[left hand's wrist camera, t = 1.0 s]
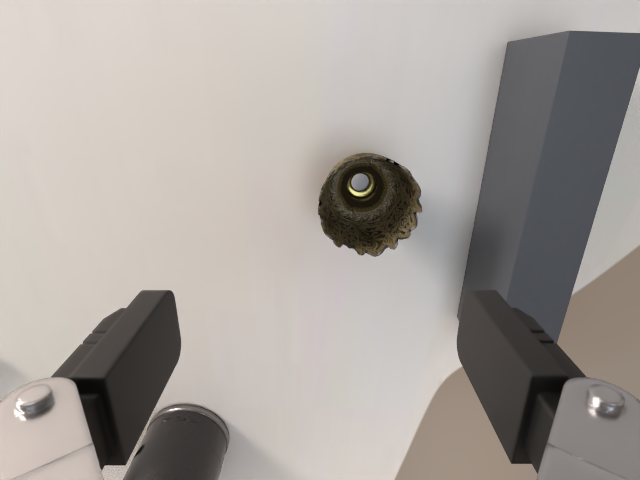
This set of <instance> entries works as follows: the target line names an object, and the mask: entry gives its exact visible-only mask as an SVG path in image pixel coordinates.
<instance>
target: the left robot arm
mask: <svg viewBox="0 0 640 480" xmlns="http://www.w3.org/2000/svg"><path fill="white" fill-rule="evenodd" d="M92 332H93V333H92V334H90V335H89V336H88V337H87V338H86V339H85V340H84V341H83V344H81V345H80V346H79V347H78V348H77V349H76V350H75V351H74V352H73V353H72V354H71V356H70V357H69V358H68V359H67V360H66V361H65V362H64V363H63V364H62V366H61V367H60V368H59V369H58V370H57V371H56V372H55V373H54V374H53V375H52V377H51V378H45V379H40V380H37V381H34V382H31V383H28V384H26V385H24V386H22V387H19V388H18V389H16V390H14V391H12V392H11V393H9V394H8V395H7V396H5V397H4V398H3V399H2V400H1V401H0V480H104V479H103V475H102V472H101V471H102V469H103V467H104V466H105V465H126V463H127V461H128V459H129V457H130V455H131V453H132V451H133V449H134V447H135V445H136V443H137V441H138V439H139V437H140V436H141V434H142V432H143V430H144V428H145V426H146V424H147V422H148V420H149V418H150V416H151V414H152V412H153V410H154V408H155V406H156V404H157V402H158V400H159V398H160V396H161V394H162V392H163V390H164V388H165V386H166V384H167V382H168V380H169V378H170V376H171V374H172V372H173V370H174V368H175V366H176V364H177V362H178V360H179V356H180V351H181V336H180V330H179V323H178V316H177V310H176V303H175V297H174V294H173V292H172V291H170V290H143V291H141V292H140V293H139V294H138V295H137V296H136V298H135V299H134V300H133V301H132V302H131V303H130V305H129V306H128V307H127V308H121V309H119V310H118V311H116V312H114V313H113V314H111V315H109V316H108V317H106V318H104V319H103V320H102V321H101V323H100V324H99V325H98V326H97V327H96V328H95V329H94V330H93V331H92ZM457 351H458V356H459V359H460V362H461V364H462V366H463V368H464V370H465V372H466V374H467V376H468V378H469V380H470V382H471V384H472V386H473V388H474V390H475V392H476V394H477V396H478V398H479V400H480V402H481V404H482V406H483V408H484V410H485V412H486V414H487V416H488V418H489V420H490V422H491V424H492V426H493V428H494V430H495V432H496V434H497V436H498V438H499V440H500V442H501V444H502V446H503V448H504V450H505V452H506V454H507V456H508V458H509V460H510V462H511V463H512V464H532V465H533V467H534V468H535V470H536V472H537V474H538V475H537V479H536V480H640V401H639V400H638V399H637V398H636V397H635V396H633V395H632V394H630V393H629V392H628V391H626V390H624V389H622V388H620V387H618V386H616V385H614V384H612V383H609V382H606V381H603V380H600V379H595V378H588V377H586V376H585V375H584V374H583V373H582V371H581V370H580V369H579V368H578V367H577V366H576V365H575V364H574V363H573V361H572V360H571V359H570V358H569V357H568V356H567V355H566V354H565V353H564V351H563V350H562V349H561V348H560V347H559V346H558V345H557V344H556V343H554V340H553V339H552V338H551V337H550V336H549V335H548V334H547V333H545V330H544V329H543V328H542V327H541V326H540V325H539V324H538V322H537V321H536V320H535V319H534V318H533V317H531V316H529V315H528V314H526V313H524V312H523V311H521V310H519V309H518V308H511V307H510V306H509V305H508V303H507V302H506V301H505V300H504V299H503V297H502V296H501V295H500V294H499V293H498V292H497V291H496V290H466V291H465V293H464V296H463V301H462V308H461V315H460V321H459V328H458V335H457ZM228 443H229V433H228V430H227V428H226V426H225V424H224V423H223V422H222V420H221V419H220V418H219V417H217V416H216V415H215V414H213V413H212V412H210V411H208V410H206V409H204V408H201V407H197V406H192V405H175V406H171V407H168V408H165V409H163V410H161V411H160V412H158V413H157V414H156V415H155V416H154V417H153V419H152V420H151V422H150V424H149V426H148V428H147V432H146V434H145V436H144V438H143V440H142V442H141V445H139V446H140V447H138V449H137V450H136V452H135V453H134V455H135V456H134V455H133V457H134V458H133V457H132V459H133V460H132V459H131V460H132V462H131V461H130V462H131V464H130V466H129V468H128V470H127V472H126V475H125V477H124V479H123V480H218V478H219V475H220V471H221V467H222V463H223V459H224V455H225V453H226V451H227V447H228Z"/></svg>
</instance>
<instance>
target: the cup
mask: <svg viewBox="0 0 640 480" xmlns="http://www.w3.org/2000/svg"><path fill="white" fill-rule="evenodd" d="M359 173H362V174H365V175H367V177H368V178H369V186H368V188H367V189H365V190H364V191H356V190H355V189H353V187H352V185H351V180H352V178H353V177H354V176H355V175H356V174H359ZM322 187H323V188H322V189H321V193H320V197H319V206H318V214H319V215H320V218H321V225H322V229H323V231H324V233H325V234H326V235H327V236H328V237H329V238H330V239H332V240H333V242H334V244H335V245H336V246H337V247H341V246H342V245H346V246H347V247H348V248H353V249H355V251H357V253H358V254H359V255H364V254H365V253H367V254H369V255H371V256H374V257H376V256H379V255H380V254H381V253H383V251H384V250H385V249H386V248H387V247H389V248H390V249H393V250H394V249H396V247H397V245H398V239H400V240H403V239H406V238H409V236H410V232H411V230H413V229H414V228H416V227H417V223H418V220H417V215H416V212H419V213H420V212H422V206H421V204H420V203H419V198H420V196H421V189H420V187H419V185H418V183H417V182H416V181H415V179H414V178H413V177H412V175H411V173H410V171H409V170H408V169H407V168H405V167H403V166H401V165H399V164H398V163H396V162H395V161H393V160H390V159H388V158H386V157H383V156H380V155H377V154H372V153H361V154H356V155H352V156H350V157H348V158H346V159H344V160H342V161H341V162H340V163H338V164H337V165H336V166H335V167H334V168H333V170H332V171H331V172H330V174H329V176H328V177H327V179H326V181H325V183H324V184H323V186H322Z"/></svg>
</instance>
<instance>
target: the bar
mask: <svg viewBox="0 0 640 480" xmlns="http://www.w3.org/2000/svg"><path fill="white" fill-rule="evenodd" d="M639 68H640V33H618V32H590V31H565V32H560V33H555V34H549V35H544V36H538V37H533V38H527V39H522V40H517V41H511V42H508V45H507V50H506V56H505V61H504V66H503V72H502V77H501V83H500V88H499V93H498V99H497V104H496V110H495V115H494V120H493V126H492V131H491V137H490V142H489V148H488V153H487V158H486V164H485V169H484V175H483V180H482V185H481V191H480V196H479V202H478V207H477V212H476V218H475V223H474V229H473V234H472V240H471V245H470V250H469V256H468V261H467V267H466V272H465V277H464V283H463V288H462V294H461V299H460V304H459V310H458V315H457V318H458V320H459V321H460V315H461V308H462V301H463V296H464V293H465V291H466V290H496V291H497V292H498V293H499V294H500V295H501V296H502V297H503V299H504V300H505V301H506V302H507V303H508V305H509V306H510V307H511V308H518V309H519V310H521V311H523V312H524V313H526V314H528V315H529V316H531V317H533V318H534V319H535V320H536V321H537V322H538V324H539V325H540V326H541V327H542V328H543V329H544V330H545V333H547V334H548V335H549V336H550V337H551V338H552V339H553V340H554V343H556V344H557V341H558V337H559V334H560V331H561V327H562V324H563V321H564V317H565V314H566V311H567V307H568V304H569V301H570V297H571V294H572V291H573V287H574V284H575V281H576V277H577V274H578V271H579V267H580V264H581V261H582V258H583V254H584V251H585V248H586V244H587V241H588V238H589V234H590V231H591V228H592V224H593V221H594V218H595V214H596V211H597V208H598V204H599V201H600V198H601V194H602V191H603V188H604V184H605V181H606V178H607V174H608V171H609V168H610V164H611V161H612V158H613V154H614V151H615V148H616V144H617V141H618V138H619V134H620V131H621V128H622V124H623V121H624V118H625V114H626V111H627V108H628V104H629V101H630V98H631V94H632V91H633V88H634V84H635V81H636V78H637V74H638V71H639Z"/></svg>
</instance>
